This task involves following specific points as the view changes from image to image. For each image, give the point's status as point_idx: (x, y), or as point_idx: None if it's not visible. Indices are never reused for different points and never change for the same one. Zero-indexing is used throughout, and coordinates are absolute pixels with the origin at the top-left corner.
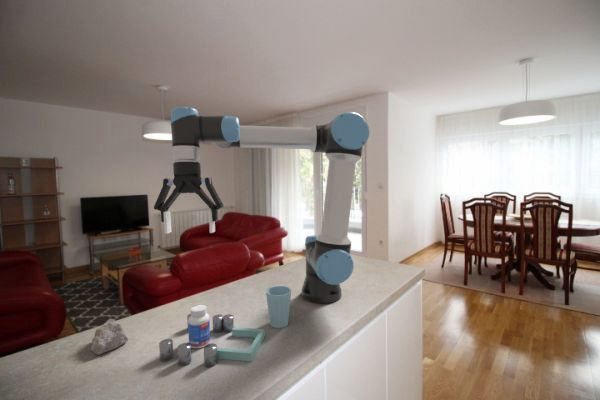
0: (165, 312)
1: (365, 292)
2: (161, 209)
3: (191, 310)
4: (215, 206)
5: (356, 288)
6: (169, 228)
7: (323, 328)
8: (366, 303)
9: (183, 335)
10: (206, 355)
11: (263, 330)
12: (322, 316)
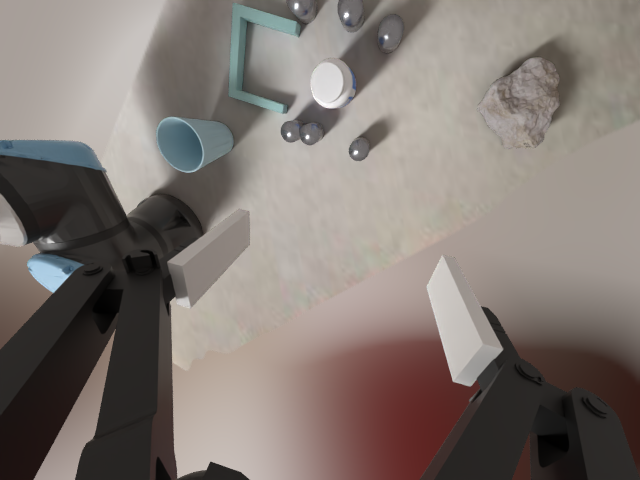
0: (422, 220)
1: None
2: (529, 371)
3: (340, 70)
4: (122, 285)
5: None
6: (437, 286)
7: (152, 109)
8: None
9: (373, 122)
10: None
11: (229, 91)
12: None
